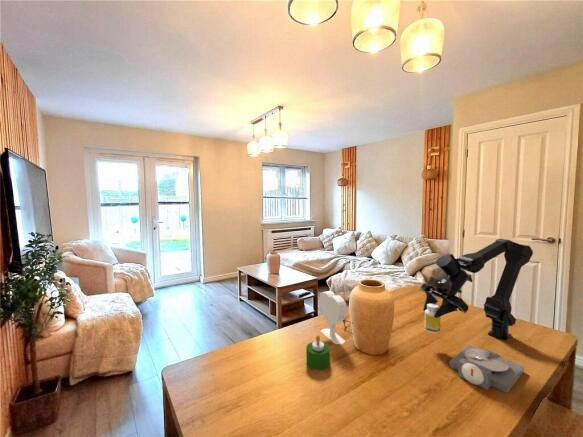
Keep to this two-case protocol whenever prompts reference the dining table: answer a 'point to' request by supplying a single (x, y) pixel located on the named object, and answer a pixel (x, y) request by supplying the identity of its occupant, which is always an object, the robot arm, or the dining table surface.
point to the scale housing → (486, 373)
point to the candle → (318, 354)
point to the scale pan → (487, 359)
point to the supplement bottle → (432, 319)
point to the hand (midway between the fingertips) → (429, 313)
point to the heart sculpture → (333, 314)
